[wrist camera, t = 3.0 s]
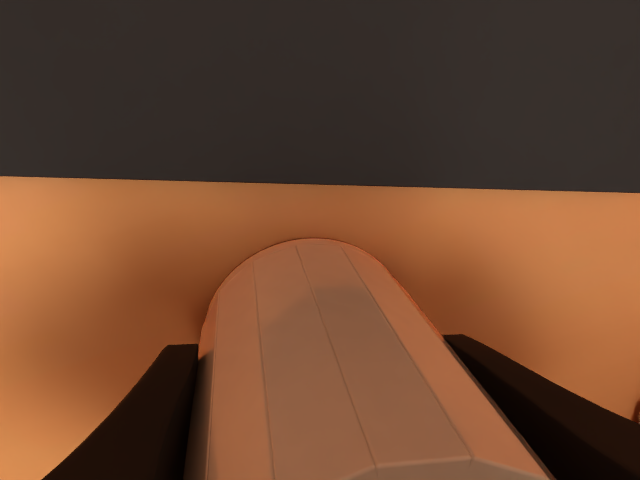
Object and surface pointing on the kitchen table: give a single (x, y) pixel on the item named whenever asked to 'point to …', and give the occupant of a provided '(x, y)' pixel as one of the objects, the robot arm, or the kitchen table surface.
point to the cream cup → (338, 380)
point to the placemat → (324, 92)
